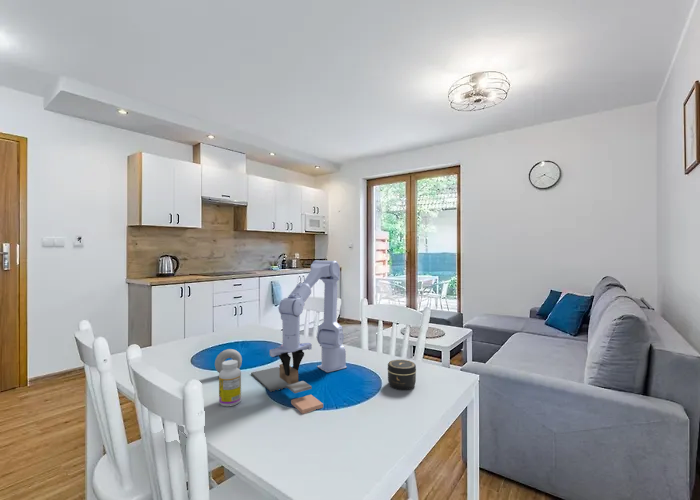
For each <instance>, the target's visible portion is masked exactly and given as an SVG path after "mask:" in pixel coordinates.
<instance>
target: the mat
mask: <svg viewBox="0 0 700 500" xmlns="http://www.w3.org/2000/svg"><path fill="white" fill-rule="evenodd" d="M251 375H252V377H254V378H255V379H256V380H257V381H258V382H259V383H261V385H263V386H264V387H265V388H266V389H267V390H268V391H269V392H272V391H273V392H276V391H275V390H277V391H279V389H281V390H284V389H283V388H285V389H288V388H287V385H288V383H287V382H285V381H284V380H283V379H281V378H280V369H279V366H276V367H270V368H266V369H262V370H256V371H252V372H251Z"/></svg>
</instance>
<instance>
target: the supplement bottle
mask: <svg viewBox="0 0 700 500" xmlns="http://www.w3.org/2000/svg"><path fill="white" fill-rule="evenodd" d="M237 365H238V361H237V360H232V359H228V360H227V359H226V360H225V361H224V362H223V363H222V368H223V370H222V371H220V373H219V372H218V402H219V405H220V406H222V407H233V406H236V405H238V404H240V403H241V400H242V371H241V369H240V368H237Z"/></svg>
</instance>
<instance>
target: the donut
mask: <svg viewBox="0 0 700 500" xmlns="http://www.w3.org/2000/svg"><path fill="white" fill-rule="evenodd" d="M227 359H231V360H237V361H238V365H237V368H239V369H240V368H241V367H242V363H243V362H242V361H243V357H242V355H241V353H240V352H239V351H237V350H236V349H232V348H227V349H224V350H223V351H220V353H219V354H217V356H216V357H215V359H214V360H215V361H214V367H215V370H216V372H217V373H218V374H219V373H220V371H222V370H223V368H222V363H223V362H224V361H227Z"/></svg>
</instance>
